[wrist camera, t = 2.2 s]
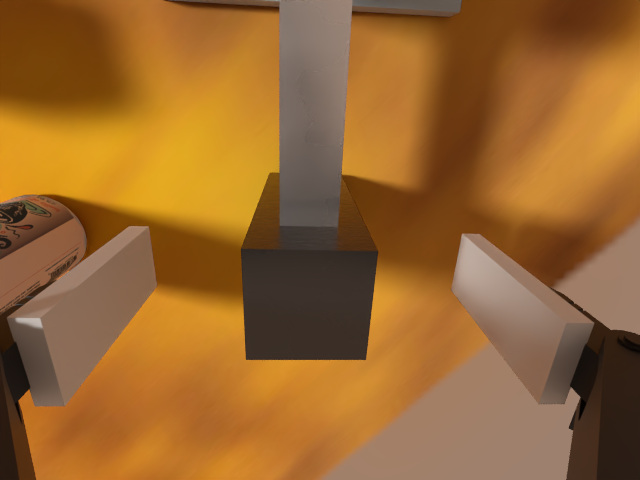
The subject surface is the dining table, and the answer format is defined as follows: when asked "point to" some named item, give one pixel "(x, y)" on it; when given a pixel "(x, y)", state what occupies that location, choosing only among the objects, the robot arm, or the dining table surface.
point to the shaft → (309, 207)
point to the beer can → (36, 245)
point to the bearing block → (373, 6)
